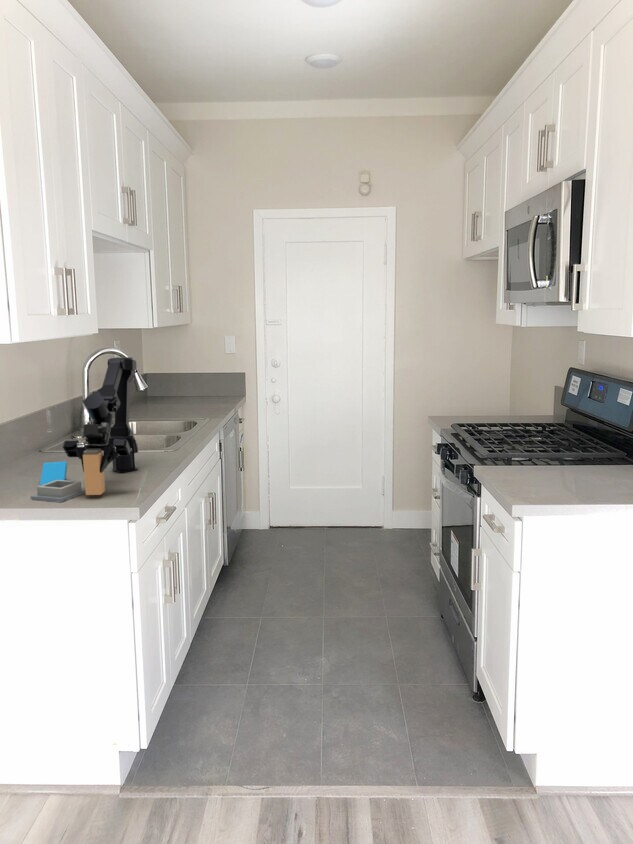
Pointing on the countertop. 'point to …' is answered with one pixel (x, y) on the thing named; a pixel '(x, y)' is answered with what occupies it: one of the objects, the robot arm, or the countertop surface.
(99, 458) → the block
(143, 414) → the countertop surface
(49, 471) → the blue block
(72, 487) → the jig cradle
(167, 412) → the countertop surface
